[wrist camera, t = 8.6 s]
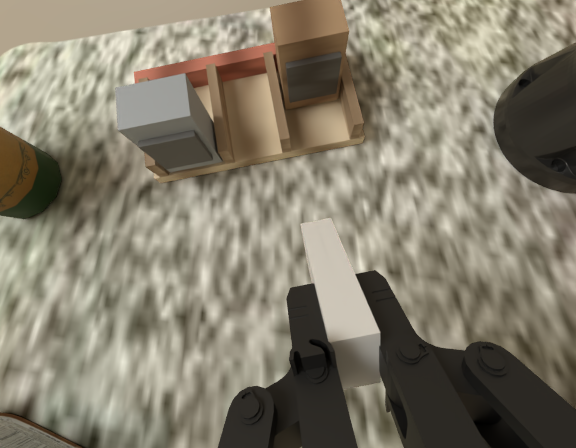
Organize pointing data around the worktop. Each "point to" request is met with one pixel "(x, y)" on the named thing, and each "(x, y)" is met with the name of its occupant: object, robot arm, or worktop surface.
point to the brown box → (309, 50)
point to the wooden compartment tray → (259, 111)
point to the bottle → (25, 177)
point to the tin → (28, 434)
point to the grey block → (168, 122)
